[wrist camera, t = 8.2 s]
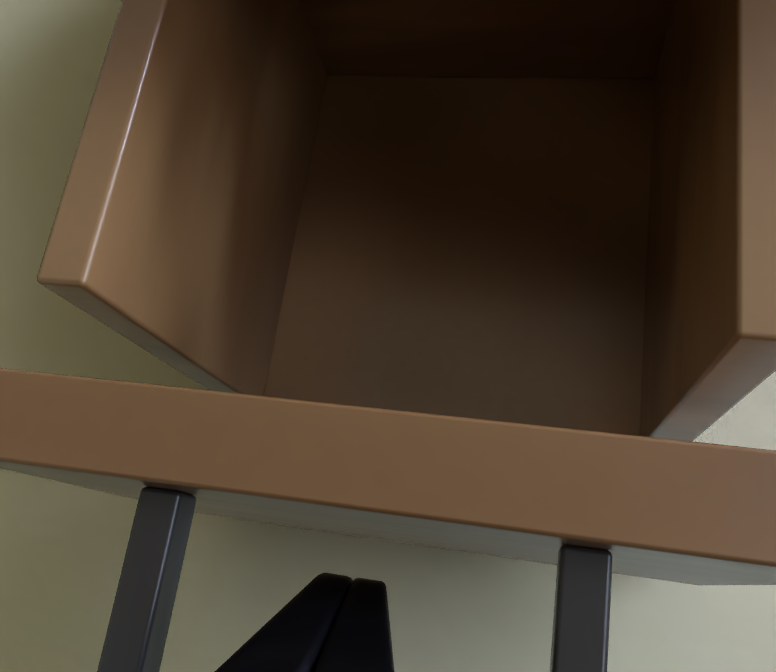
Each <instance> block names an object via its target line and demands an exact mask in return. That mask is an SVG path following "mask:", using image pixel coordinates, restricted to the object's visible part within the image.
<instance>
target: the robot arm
mask: <svg viewBox="0 0 776 672" xmlns="http://www.w3.org/2000/svg"><path fill="white" fill-rule="evenodd" d="M215 672H394V663H393V653H392V642H391V631H390V621H389V610H388V600H387V590H386V585H385V583H384V582H382V581H376V580H370V579H363V578H356V579H354V580H352V578H350V577H348V576H344V575H337V574H331V573H322V574H319V575H318V576H316V577H315V578H314V579H313V580H312V581H311V582H310V583H309V584H308V585H307V586H306V587H305V588H304V589H302V590H301V591H300V592H299V593H298V594H297V595H296V596H295V597H294V598H293V599H292V600H291V601H290V602H289V603H288V604H286V605H285V606H284V607H283V608H282V609H281V610H280V611H279V612H278V613H277V614H276V615H275V616H274V617H273V618H271V619H270V620H269V621H268V622H267V623H266V624H265V625H264V626H263V627H262V628H261V629H260V630H259V631H258V632H256V633H255V634H254V635H253V636H252V637H251V638H250V639H249V640H248V641H247V642H246V643H245V644H244V645H243V646H242V647H240V648H239V649H238V650H237V651H236V652H235V653H234V654H233V655H232V656H231V657H230V658H229V659H228V660H227V661H225V662H224V663H223V664H222V665H221V666H220V667H219V668H218V669H217V670H216V671H215Z"/></svg>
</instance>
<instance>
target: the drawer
mask: <svg viewBox="0 0 776 672" xmlns="http://www.w3.org/2000/svg"><path fill="white" fill-rule="evenodd" d="M37 281H38V282H39V283H40V284H41V285H43V286H45V287H46V288H48V289H49V290H51V291H53V292H54V293H56V294H57V295H59V296H61V297H62V298H64V299H65V300H67V301H68V302H70V303H72V304H73V305H75V306H76V307H78V308H80V309H81V310H83V311H84V312H86V313H88V314H89V315H91V316H92V317H94V318H95V319H97V320H99V321H100V322H102V323H103V324H105V325H107V326H108V327H110V328H111V329H113V330H115V331H116V332H118V333H119V334H121V335H122V336H124V337H126V338H127V339H129V340H130V341H132V342H134V343H135V344H137V345H138V346H140V347H142V348H143V349H145V350H146V351H148V352H150V353H151V354H153V355H154V356H156V357H157V358H159V359H161V360H162V361H164V362H165V363H167V364H169V365H170V366H172V367H173V368H175V369H177V370H178V371H180V372H181V373H183V374H184V375H186V376H188V377H189V378H191V379H192V380H194V381H196V382H197V383H199V384H200V385H202V386H204V387H205V388H207V389H208V390H200V389H191V388H181V387H172V386H163V385H153V384H144V383H134V382H125V381H116V380H106V379H97V378H87V377H78V376H68V375H59V374H50V373H40V372H31V371H21V370H12V369H2V368H0V468H1V469H5V470H10V471H14V472H19V473H23V474H27V475H32V476H36V477H41V478H45V479H50V480H54V481H58V482H63V483H67V484H72V485H76V486H80V487H85V488H89V489H94V490H98V491H103V492H107V493H111V494H116V495H120V496H125V497H129V498H133V499H138V505H137V509H136V513H135V517H134V521H133V525H132V529H131V534H130V538H129V542H128V546H127V550H126V554H125V559H124V563H123V567H122V571H121V575H120V579H119V583H118V588H117V592H116V596H115V600H114V604H113V608H112V613H111V617H110V621H109V625H108V629H107V633H106V637H105V642H104V646H103V650H102V654H101V658H100V662H99V667H98V671H97V672H159V670H160V665H161V661H162V656H163V652H164V647H165V642H166V638H167V633H168V629H169V624H170V619H171V615H172V610H173V606H174V601H175V597H176V592H177V587H178V583H179V578H180V574H181V569H182V564H183V560H184V555H185V551H186V546H187V541H188V537H189V532H190V528H191V523H192V518H193V514H194V512H195V513H200V514H207V515H214V516H221V517H227V518H234V519H241V520H248V521H255V522H262V523H269V524H276V525H283V526H290V527H297V528H304V529H311V530H318V531H325V532H332V533H339V534H346V535H353V536H360V537H367V538H374V539H381V540H387V541H394V542H401V543H408V544H415V545H422V546H429V547H436V548H443V549H450V550H457V551H464V552H471V553H478V554H485V555H492V556H499V557H506V558H513V559H520V560H527V561H534V562H541V563H548V564H554V565H557V578H556V592H555V606H554V620H553V634H552V648H551V662H550V672H607V659H608V639H609V619H610V599H611V579H612V573H617V574H624V575H631V576H638V577H645V578H652V579H659V580H666V581H673V582H680V583H687V584H694V585H776V451H775V450H766V449H756V448H747V447H737V446H728V445H718V444H709V443H700V442H692V441H693V440H694V439H695V438H697V437H698V436H699V435H700V434H701V433H703V432H704V431H705V430H706V429H707V428H708V427H710V426H711V425H712V424H713V423H714V422H716V421H717V420H718V419H719V418H720V417H721V416H723V415H724V414H725V413H726V412H727V411H728V410H730V409H731V408H732V407H733V406H734V405H736V404H737V403H738V402H739V401H740V400H741V399H743V398H744V397H745V396H746V395H747V394H749V393H750V392H751V391H752V390H753V389H754V388H756V387H757V386H758V385H759V384H760V383H762V382H763V381H764V380H765V379H766V378H767V377H769V376H770V375H771V374H772V373H773V372H775V371H776V0H122V3H121V6H120V10H119V13H118V16H117V19H116V23H115V26H114V29H113V32H112V35H111V39H110V42H109V45H108V48H107V52H106V55H105V58H104V61H103V65H102V68H101V71H100V74H99V78H98V81H97V84H96V87H95V91H94V94H93V97H92V100H91V103H90V107H89V110H88V113H87V116H86V120H85V123H84V126H83V129H82V133H81V136H80V139H79V142H78V146H77V149H76V152H75V155H74V159H73V162H72V165H71V168H70V171H69V175H68V178H67V181H66V184H65V188H64V191H63V194H62V197H61V201H60V204H59V207H58V210H57V214H56V217H55V220H54V223H53V227H52V230H51V233H50V236H49V239H48V243H47V246H46V249H45V252H44V256H43V259H42V262H41V265H40V269H39V272H38V275H37Z"/></svg>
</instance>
